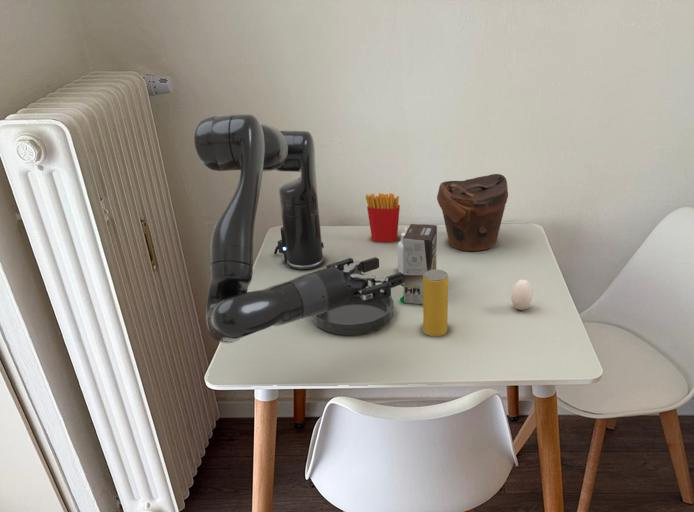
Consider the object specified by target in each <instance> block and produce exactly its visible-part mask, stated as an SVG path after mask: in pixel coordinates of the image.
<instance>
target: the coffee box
mask: <svg viewBox="0 0 694 512" xmlns="http://www.w3.org/2000/svg"><path fill="white" fill-rule="evenodd" d="M437 240H438V225H437V224H423V223H422V224H418V223H417V224H416V223H410V224H409V226H408V228H407V232H406V234H405V236H404V237H403V273H404V283H403V303H404V304H416V305H423V275H424V273H425V272H426V271H429V270H434V269H437V263H438V262H437V258H438V257H437V256H438V255H437V254H438V253H437V251H438V250H437V249H438V247H437V246H438V243H437V242H438V241H437Z"/></svg>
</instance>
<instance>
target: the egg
mask: <svg viewBox="0 0 694 512" xmlns="http://www.w3.org/2000/svg"><path fill="white" fill-rule="evenodd" d="M510 299H511V303H512V306H513V307H514V308H515V309H517V310H518V311H523V310H526V309H527V308H528V307H529V306H530V304H531V303H532V300H533V289H532V286H531V283H530V282H529V280H528V281H527V280H526V279H525V278H524V279H519V280H518V281H516V282H515V283H514V286H513V287H512V289H511V295H510Z"/></svg>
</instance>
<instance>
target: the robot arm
mask: <svg viewBox="0 0 694 512" xmlns="http://www.w3.org/2000/svg"><path fill="white" fill-rule="evenodd" d="M193 146H194V150H195V153H196V155H197V157H198V159H199V160H200V162H201V163H202V164H203V166H205V167H206V168H208V169H210V170H211V171H216V172H226V171H227V172H228V171H229V172H230V171H239V172H240V174H239V178H238V182H237V185H236V188H235V190H234V192H233V194H232V196H231V198H230V199H229V201H228V203H227V205H226V206H225V208H224V210H222V212H221V214H220V216H219V218H218V219H217V221H216V223H215V225H214V227H213V230H212V234H211V237H210V249H209V253H210V254H209V271H210V272H209V274H210V277H209V278H210V279H209V286H208V293H207V298H206V306H205V326H206V331H207V332H208V334H209V335H210V337H211V338H212V339H213V340H214V341H217V342H218V343H221V344H233V343H236V342H238V341H239V340H241V339H244V338H245V337H247V336H250V335H252V334H256V333H258V332H261V331H264V330H266V329H269V328H271V327H279V326H284V325H287V324H290V323H293V322H296V321H299V320H302V319H307V318H312V316H316V315H319V314H321V313H324V312H327V311H330V310H333V309H336V308H339V307H342V306H344V305H346V303H347V301H348V300H349V298H350V297H356V296H360V297H361V298H362V303H364V304H366V303H370V302H373V301H376V300H380V299H383V298H386V297H390V296H391V297H392V289H393V288H396V287H399V286H401V285H404V274H403V273H401V272H400V273H399V272H396V273H393V274H391V275H387V276H385V277H377V276H376V275H374V274H365V273H367V272H371V271H375V270H377V269H379V268H380V258H378V257H377V256H374V257H371V258H368V259H365V260H359V259H358V260H357V259H356V260H354V258H353V257H348V258H345V259H342V260H339V261H335V262H333V263H330V264H327V265H326V268H323V269H319V270H315V271H312V272H309V273H306V274H303V275H299V276H297V277H295V278H293V279H291V280H287V281H285V282H281V283H278V284H274V285H271V286H269V287H266V288H264V289H259V290H253V291H248V289H249V286H250V284H251V283H252V280H253V274H254V273H253V271H254V233H255V224H256V222H255V221H256V217H257V211H258V204H259V199H260V192H261V186H262V181H263V174H264V173H263V172H272V171H277V172H286V173H287V172H292V173H293V172H294V173H298V172H299V173H300V176H299V177H298V178H296V179H293V180H291V181H288V182H286V183H283V184H282V185H281V186H280V187H279V189H278V197H279V206H280V213H281V220H282V221H281V223H282V226H281V227H280V228H279V229H280V236H281V239H279V240H278V241H277V246H276V247H275V249H274V251H273V254H274V255H277V254H278V253H280V254H283V260H284V263H285V264H287V266H288V267H289V268H292V269H295V270H301V271H302V270H311V269H316V268H318V267H320V266H322V265H323V264H324V263H325V261H324V260H325V257H324V253H323V252H324V251H323V249H324V243H323V242H322V241H323V240H322V231H321V219H320V209H319V197H318V186H317V171H316V147H315V146H316V145H315V141H314V137H313V135H312V133H311V132H309V131H307V130H279V129H278V128H276V127H274V126H272V125H269V124H264V123H261V122H260V120H259V119H258V118H257V117H256V116H255V115H253V114H249V113H241V114H240V113H239V114H238V113H237V114H219V115H210V116H206V117H204V118H202V119H201V120H199V122H198V123H197V125H196V127H195V129H194V132H193ZM346 265H347V266H346ZM345 266H346V267H345ZM369 282H370V285H369ZM368 286H371V287H368ZM380 292H384V293H380Z"/></svg>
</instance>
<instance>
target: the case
mask: <svg viewBox="0 0 694 512" xmlns="http://www.w3.org/2000/svg"><path fill="white" fill-rule="evenodd" d="M508 190H509V189H508V181H507V178H506V177H505V175H503V174H502V173H501V174H499V173H492V174H487V175H483V176H476V177H474V178H468V179H465V180H446V181H442V182H441V183H440V184H439V186H438V191H437V196H436V201H437V203H438V206H439V207H440V209H441V212H442V215H443V220H444V221H443V222H444V225H445V231H446V235H447V240H448V244H449V245H450V246H451V247H452V248H454V249H457V250H460V251H467V252H477V251H479V252H480V251H485V250H488V249H491V248H493V247H494V246H495V245H496V243H497V241H498V236H499V232H500V229H501V224H502V221H503V217H504V212H505V208H506V205H507V202H508V197H509V191H508Z"/></svg>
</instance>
